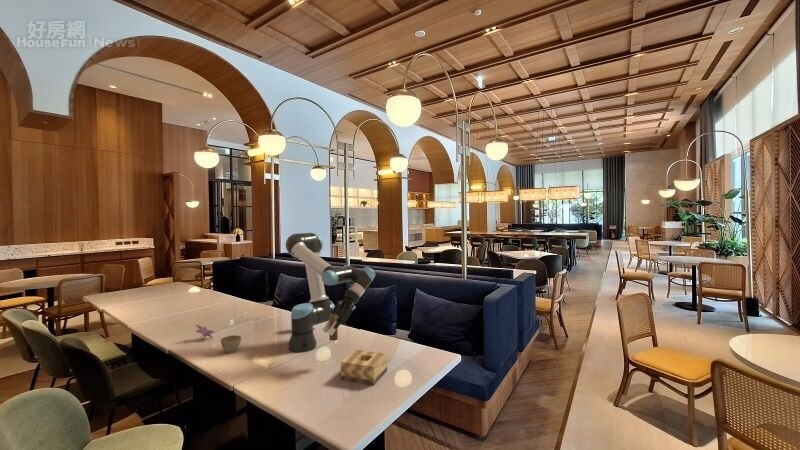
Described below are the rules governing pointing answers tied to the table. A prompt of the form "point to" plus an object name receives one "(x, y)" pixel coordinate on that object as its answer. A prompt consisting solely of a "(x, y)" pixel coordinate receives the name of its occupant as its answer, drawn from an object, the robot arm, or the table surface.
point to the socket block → (364, 367)
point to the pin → (331, 321)
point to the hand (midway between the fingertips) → (326, 332)
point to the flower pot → (230, 343)
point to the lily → (204, 331)
